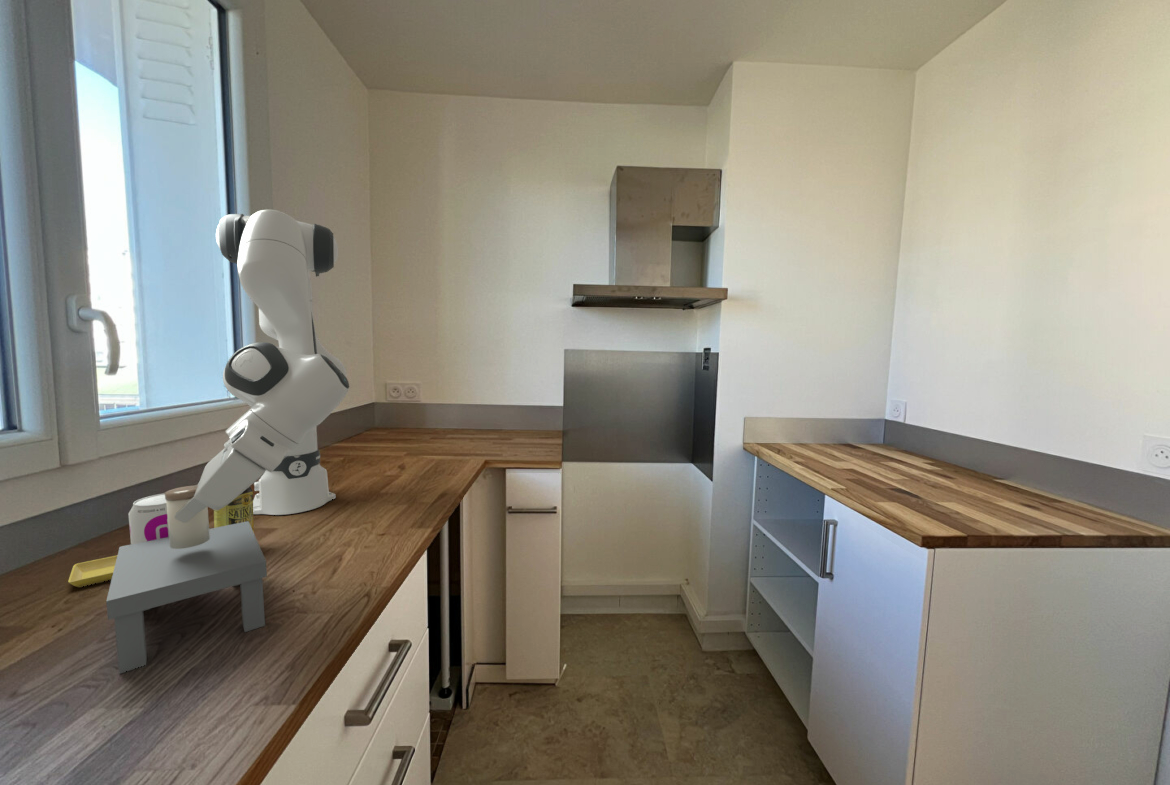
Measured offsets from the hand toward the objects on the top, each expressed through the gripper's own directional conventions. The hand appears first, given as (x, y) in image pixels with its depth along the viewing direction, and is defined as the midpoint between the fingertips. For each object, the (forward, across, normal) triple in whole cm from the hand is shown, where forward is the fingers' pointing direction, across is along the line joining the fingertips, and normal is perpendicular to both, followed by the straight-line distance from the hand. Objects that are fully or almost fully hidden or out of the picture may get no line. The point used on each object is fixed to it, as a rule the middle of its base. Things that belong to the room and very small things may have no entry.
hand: (182, 513), depth 66 cm
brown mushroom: (+3, 0, +4) cm, 5 cm away
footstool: (+11, 0, +12) cm, 16 cm away
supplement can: (+15, -16, +9) cm, 23 cm away
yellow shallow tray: (+21, -26, +3) cm, 33 cm away
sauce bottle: (+8, -25, +15) cm, 30 cm away
